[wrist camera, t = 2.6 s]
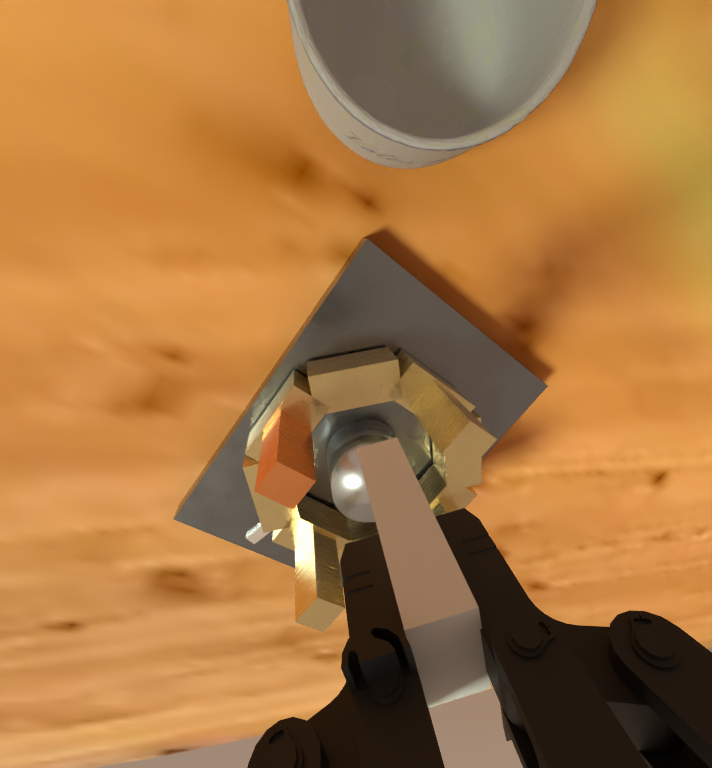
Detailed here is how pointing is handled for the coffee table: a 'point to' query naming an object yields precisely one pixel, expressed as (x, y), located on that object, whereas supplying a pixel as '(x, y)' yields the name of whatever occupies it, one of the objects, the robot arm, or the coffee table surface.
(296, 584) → the ring nut
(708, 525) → the coffee table surface
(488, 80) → the teacup
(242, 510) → the housing
